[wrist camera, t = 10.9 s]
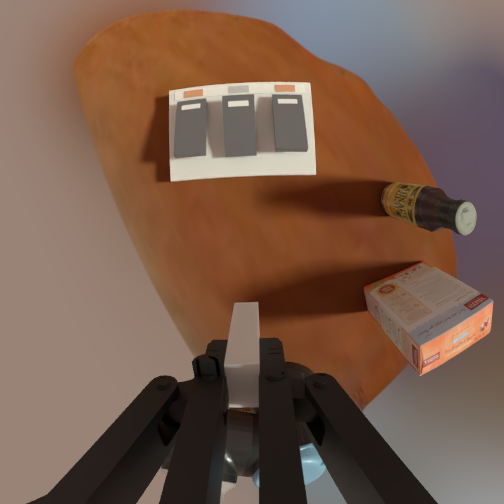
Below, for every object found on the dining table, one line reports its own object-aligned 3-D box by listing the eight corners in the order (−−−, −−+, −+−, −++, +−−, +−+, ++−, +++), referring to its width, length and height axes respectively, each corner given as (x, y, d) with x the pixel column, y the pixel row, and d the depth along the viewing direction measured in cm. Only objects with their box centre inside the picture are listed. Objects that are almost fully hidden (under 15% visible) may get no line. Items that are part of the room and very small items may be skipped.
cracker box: (367, 313, 48) (418, 379, 28) (362, 285, 47) (419, 345, 27) (426, 287, 47) (491, 334, 27) (423, 259, 46) (495, 299, 25)
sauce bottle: (382, 178, 42) (454, 178, 23) (410, 187, 43) (486, 194, 23) (375, 214, 44) (444, 236, 25) (403, 222, 44) (476, 246, 25)
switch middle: (256, 154, 39) (256, 155, 37) (226, 156, 39) (225, 157, 37) (253, 95, 35) (253, 94, 33) (223, 96, 35) (221, 95, 33)
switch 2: (306, 151, 36) (308, 147, 35) (275, 152, 36) (276, 147, 35) (300, 99, 37) (301, 94, 35) (271, 99, 37) (271, 94, 35)
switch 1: (206, 155, 37) (204, 151, 35) (176, 158, 37) (173, 154, 35) (207, 102, 37) (205, 97, 35) (179, 106, 37) (177, 101, 35)
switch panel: (312, 175, 43) (317, 174, 38) (176, 181, 43) (168, 181, 39) (306, 88, 39) (311, 80, 35) (174, 96, 39) (167, 88, 35)
